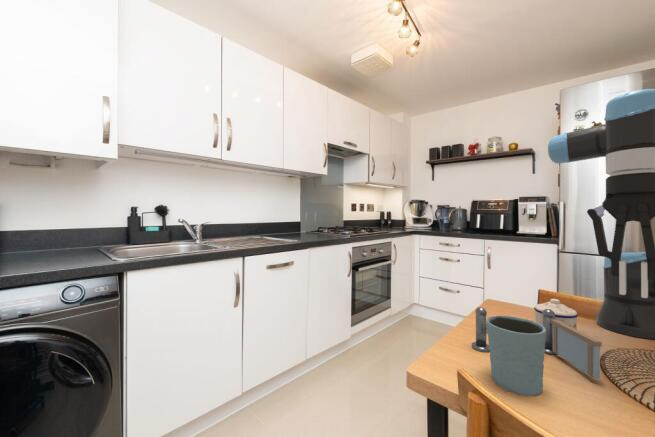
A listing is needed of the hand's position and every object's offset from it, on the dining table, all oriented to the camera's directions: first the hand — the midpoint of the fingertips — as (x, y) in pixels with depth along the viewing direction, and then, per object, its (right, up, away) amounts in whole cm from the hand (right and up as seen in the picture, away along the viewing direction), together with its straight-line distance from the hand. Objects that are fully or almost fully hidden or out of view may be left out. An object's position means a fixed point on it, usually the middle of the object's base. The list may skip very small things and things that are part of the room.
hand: (633, 294), depth 54 cm
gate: (-5, -17, +8) cm, 20 cm away
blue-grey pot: (-21, -19, +3) cm, 28 cm away
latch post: (-20, -19, +18) cm, 32 cm away
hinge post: (-4, -18, +16) cm, 25 cm away
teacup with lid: (+3, -19, +21) cm, 28 cm away
